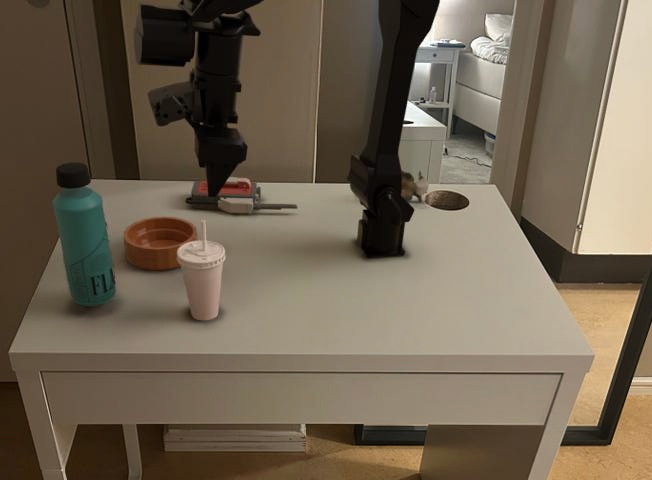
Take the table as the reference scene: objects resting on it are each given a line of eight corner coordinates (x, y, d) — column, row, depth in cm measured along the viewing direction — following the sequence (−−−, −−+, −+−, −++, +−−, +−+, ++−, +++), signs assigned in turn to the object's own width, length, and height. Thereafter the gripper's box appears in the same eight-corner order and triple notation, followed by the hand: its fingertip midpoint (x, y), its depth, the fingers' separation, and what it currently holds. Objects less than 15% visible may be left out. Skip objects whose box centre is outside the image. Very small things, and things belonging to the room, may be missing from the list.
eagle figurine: (411, 184, 132) (368, 179, 130) (429, 160, 126) (384, 155, 123) (418, 218, 130) (374, 214, 127) (436, 196, 123) (391, 191, 121)
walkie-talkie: (183, 214, 123) (297, 216, 123) (181, 190, 120) (297, 193, 120) (190, 194, 130) (297, 196, 130) (188, 171, 127) (298, 173, 127)
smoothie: (220, 328, 94) (216, 234, 86) (175, 322, 95) (166, 228, 87) (233, 304, 99) (229, 212, 91) (189, 298, 100) (182, 207, 92)
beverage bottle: (95, 321, 95) (71, 180, 83) (61, 306, 98) (32, 168, 86) (128, 300, 99) (110, 163, 87) (94, 287, 102) (72, 153, 90)
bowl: (195, 237, 116) (193, 214, 113) (201, 269, 107) (199, 246, 104) (126, 241, 114) (123, 219, 111) (126, 275, 105) (123, 251, 103)
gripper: (147, 39, 94) (144, 150, 103) (160, 89, 80) (155, 211, 90) (229, 47, 97) (218, 154, 106) (255, 96, 83) (240, 214, 93)
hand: (207, 181), depth 99 cm, fingers open, 9 cm apart
